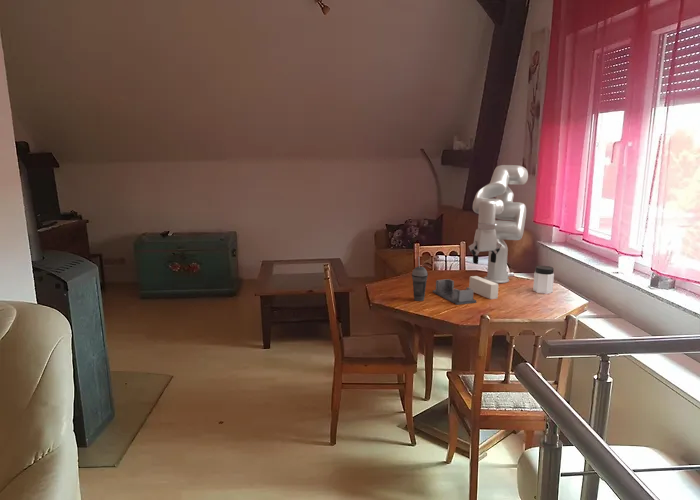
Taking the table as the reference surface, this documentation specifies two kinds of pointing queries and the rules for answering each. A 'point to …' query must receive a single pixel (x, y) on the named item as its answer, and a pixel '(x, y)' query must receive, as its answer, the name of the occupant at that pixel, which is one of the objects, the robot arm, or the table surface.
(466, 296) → the bracket board
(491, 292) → the rail
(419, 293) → the beverage cup
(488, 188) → the robot arm
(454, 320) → the table surface
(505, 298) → the table surface
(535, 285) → the jar
